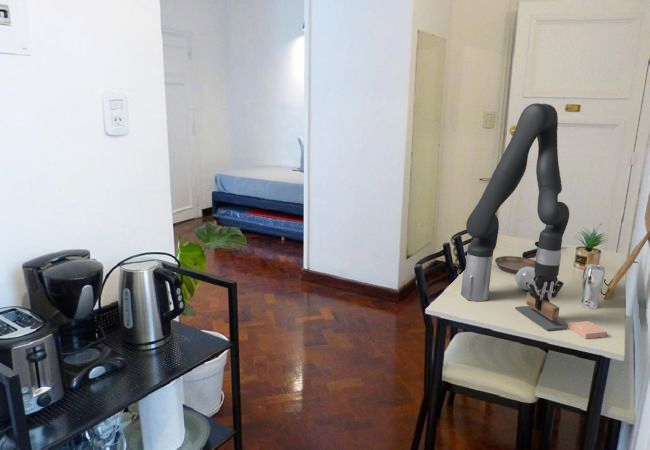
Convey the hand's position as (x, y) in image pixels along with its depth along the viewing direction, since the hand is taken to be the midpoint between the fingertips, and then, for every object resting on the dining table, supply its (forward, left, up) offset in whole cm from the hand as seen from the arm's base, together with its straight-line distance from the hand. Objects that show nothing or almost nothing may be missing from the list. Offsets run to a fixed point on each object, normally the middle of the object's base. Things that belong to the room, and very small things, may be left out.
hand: (541, 308), depth 171 cm
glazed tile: (+9, -8, -3) cm, 12 cm away
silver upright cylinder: (+26, +7, -4) cm, 27 cm away
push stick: (0, 0, -1) cm, 1 cm away
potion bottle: (+13, +23, -4) cm, 27 cm away
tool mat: (0, 0, -4) cm, 4 cm away
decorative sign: (+48, +67, -4) cm, 83 cm away
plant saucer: (+24, +48, -4) cm, 54 cm away
